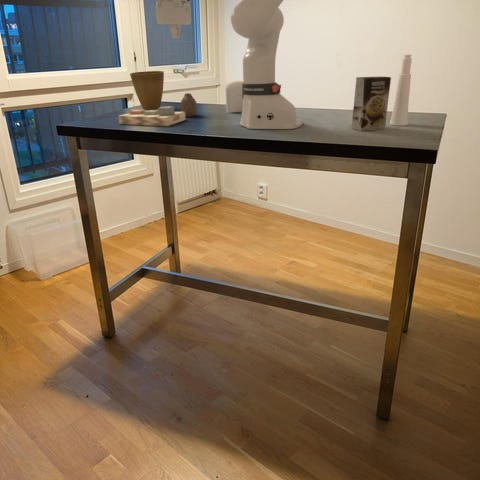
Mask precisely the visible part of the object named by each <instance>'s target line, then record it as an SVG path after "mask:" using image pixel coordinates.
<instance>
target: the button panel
mask: <svg viewBox="0 0 480 480" xmlns="http://www.w3.org/2000/svg"><path fill="white" fill-rule="evenodd" d="M174 112H175V114H173V115H170V116H165V115H159V114H156V115H144V113H143V114H140V115H139V114H130V112H128V113H124V114H120V115H118V122H119V124H120V125H133V126H134V125H138V126H154V127H157V126H158V127H169V126H171V125H174V124H177V123H180V122H183V121H185V120H186V116H185V112H181V111H174Z"/></svg>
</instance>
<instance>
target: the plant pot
mask: <svg viewBox="0 0 480 480" xmlns="http://www.w3.org/2000/svg"><path fill="white" fill-rule="evenodd" d="M129 76H130V79H131V82H132V86H133V89H134V92H135V95H136V96H137V98H138V99H137V100H138V101H139V103H140V106H141V108H142V110H146V111H148V110H158V108H160V107H161V104H162V100H163V94H164V91H163V90H164V82H165V81H164V80H165V78H164V77H165V72H164V71H163V70H149V71H136V72H130V73H129Z"/></svg>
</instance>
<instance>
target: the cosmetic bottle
mask: <svg viewBox="0 0 480 480" xmlns="http://www.w3.org/2000/svg"><path fill="white" fill-rule="evenodd" d="M412 59H413V58H412V54H403V58H402V59H401V61H402V62H401V69H400V70H401V71H400V73H399V74H398V75H399V76H398V80H397V85H396V86H397V87H396V92H395V97H394V103H393V108H392V112H391V117H390V121H389V125H391V126H396V127H402V126H409V102H410V91H411V90H410V89H411V79H412V77H411V76H412V74H410V73H411V69H412Z"/></svg>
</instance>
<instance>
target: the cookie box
mask: <svg viewBox="0 0 480 480" xmlns="http://www.w3.org/2000/svg"><path fill="white" fill-rule="evenodd" d="M391 79H392V77H390V76H363V77H362V76H361V77H359V76H357V77H356V78H355V89H354V99H353V108H352V121H351V128H352V129H355V130H357V131H360V132H365V131H377V130H385V129H386V121H387V113H388V104H389V98H390V97H389V96H390V91H391V90H390V89H391V88H390V87H391V82H392V81H391Z"/></svg>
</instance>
